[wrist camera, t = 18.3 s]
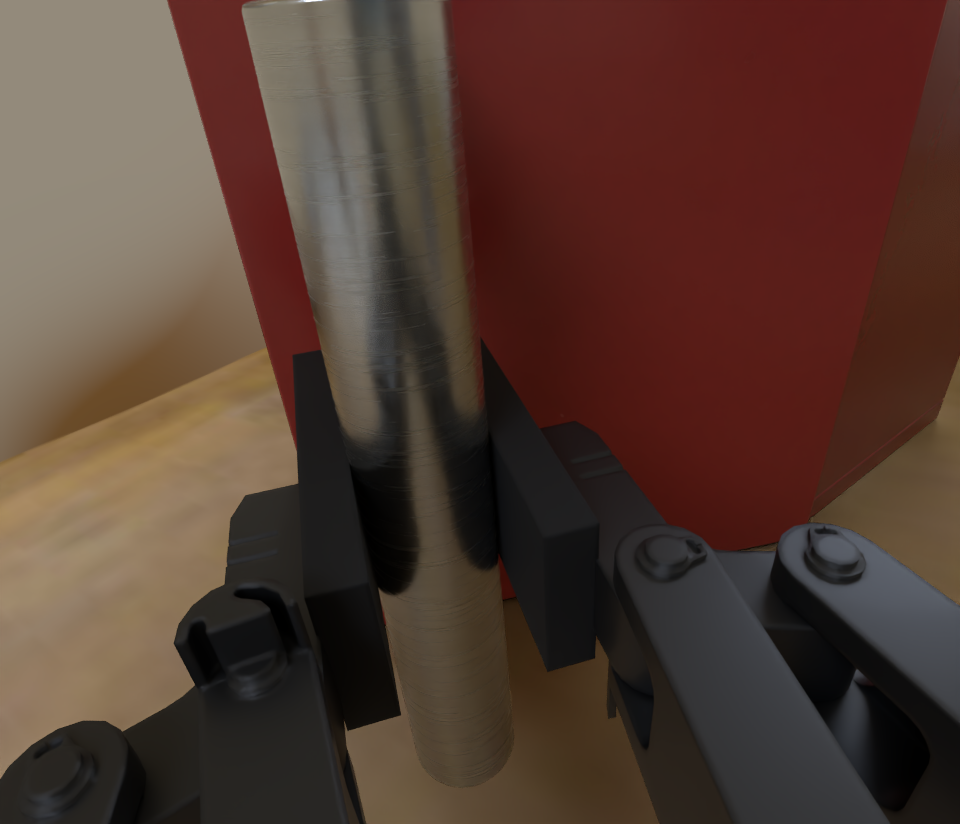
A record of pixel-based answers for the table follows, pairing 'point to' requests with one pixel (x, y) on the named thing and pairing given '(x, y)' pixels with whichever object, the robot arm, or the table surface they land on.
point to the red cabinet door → (556, 263)
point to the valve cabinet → (908, 292)
